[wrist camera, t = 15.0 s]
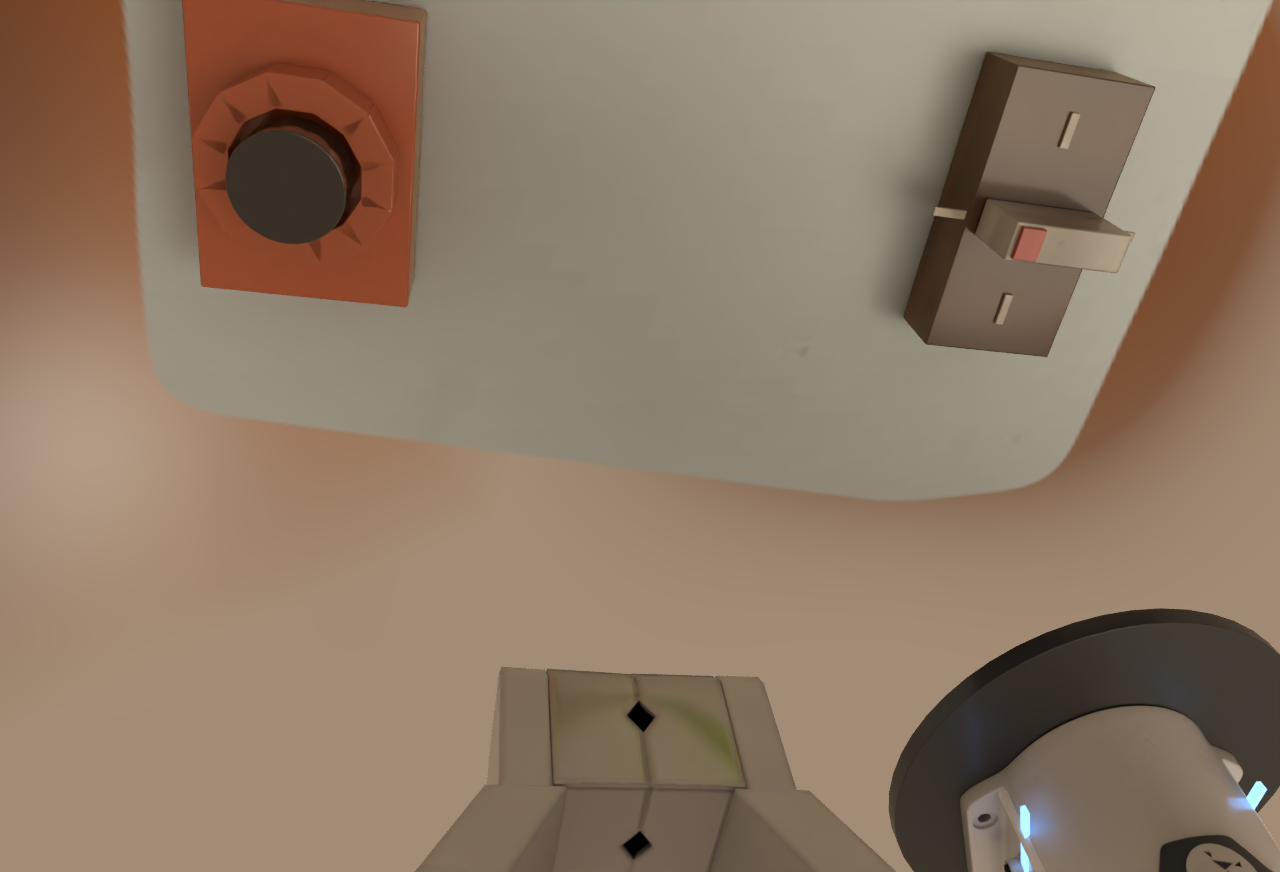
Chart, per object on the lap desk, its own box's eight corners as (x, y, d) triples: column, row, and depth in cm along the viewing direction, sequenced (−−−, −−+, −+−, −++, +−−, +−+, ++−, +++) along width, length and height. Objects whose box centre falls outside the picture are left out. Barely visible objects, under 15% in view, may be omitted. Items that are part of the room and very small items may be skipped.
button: (353, 231, 37) (345, 250, 35) (241, 219, 36) (227, 238, 34) (355, 123, 35) (346, 138, 33) (236, 108, 34) (221, 122, 32)
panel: (1048, 333, 48) (1080, 362, 45) (870, 314, 46) (893, 342, 43) (1150, 78, 42) (1194, 93, 39) (950, 45, 40) (981, 59, 38)
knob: (1095, 212, 41) (1136, 238, 39) (1081, 248, 42) (1120, 276, 39) (986, 197, 41) (1020, 223, 38) (974, 235, 41) (1006, 262, 39)
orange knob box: (414, 279, 43) (403, 326, 39) (221, 258, 41) (187, 305, 37) (427, 9, 37) (416, 30, 33) (205, -25, 36) (164, -8, 32)
